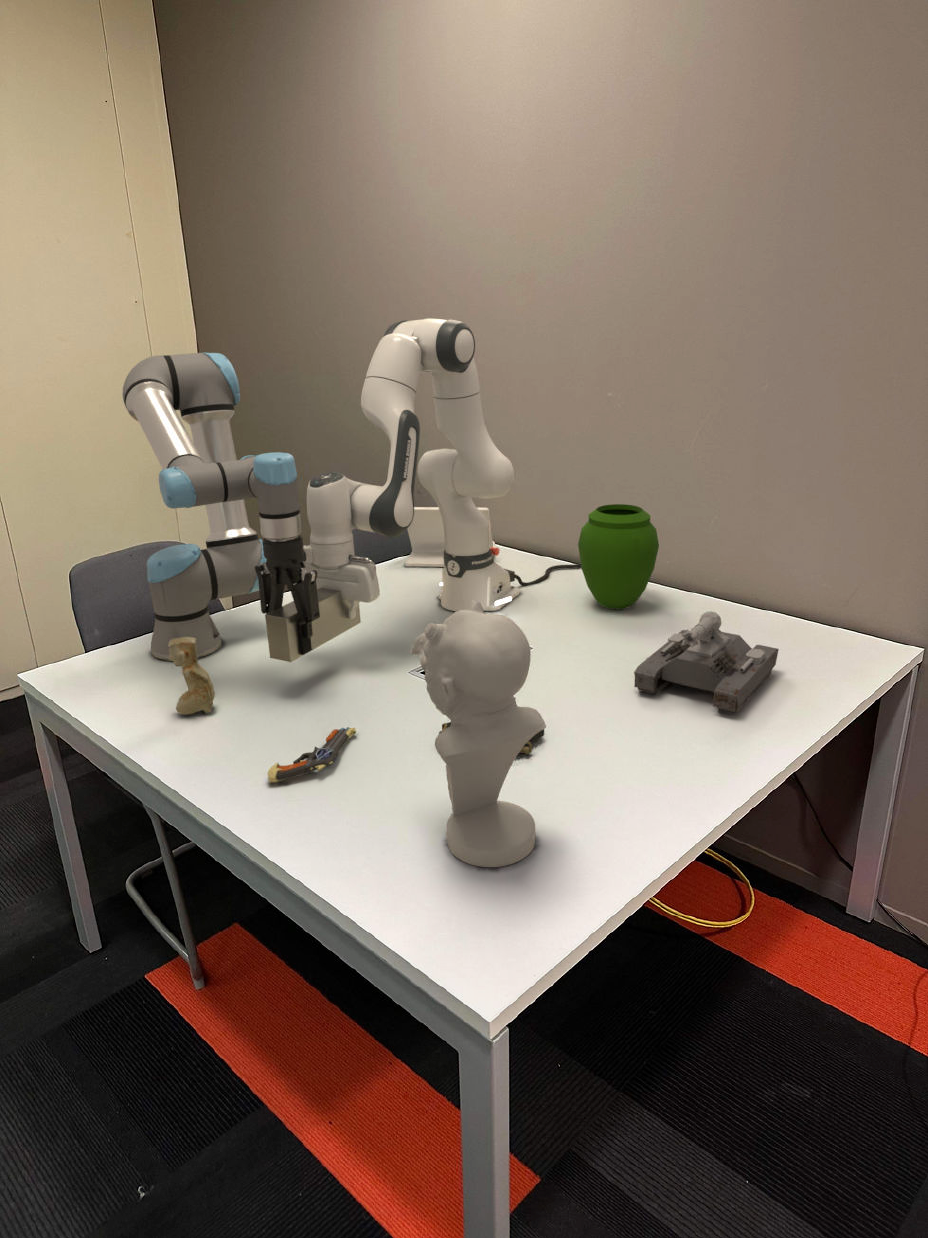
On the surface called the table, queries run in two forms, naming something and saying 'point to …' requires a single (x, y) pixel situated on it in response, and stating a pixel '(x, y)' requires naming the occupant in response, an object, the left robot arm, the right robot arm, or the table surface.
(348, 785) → the table surface
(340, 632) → the bar
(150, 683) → the table surface
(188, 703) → the sculpture
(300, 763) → the toy gun
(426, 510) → the tablet stand
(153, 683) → the table surface
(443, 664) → the bust sculpture
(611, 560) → the vase
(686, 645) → the toy
